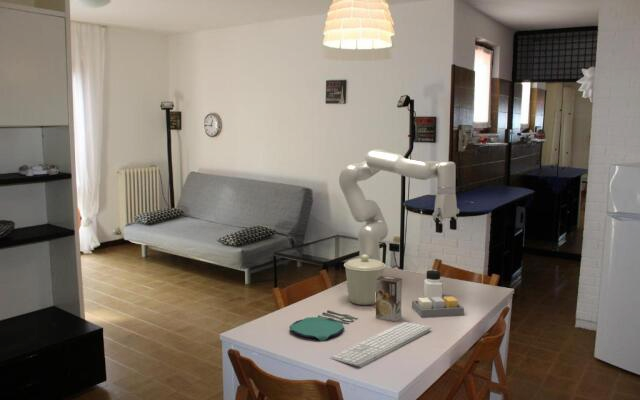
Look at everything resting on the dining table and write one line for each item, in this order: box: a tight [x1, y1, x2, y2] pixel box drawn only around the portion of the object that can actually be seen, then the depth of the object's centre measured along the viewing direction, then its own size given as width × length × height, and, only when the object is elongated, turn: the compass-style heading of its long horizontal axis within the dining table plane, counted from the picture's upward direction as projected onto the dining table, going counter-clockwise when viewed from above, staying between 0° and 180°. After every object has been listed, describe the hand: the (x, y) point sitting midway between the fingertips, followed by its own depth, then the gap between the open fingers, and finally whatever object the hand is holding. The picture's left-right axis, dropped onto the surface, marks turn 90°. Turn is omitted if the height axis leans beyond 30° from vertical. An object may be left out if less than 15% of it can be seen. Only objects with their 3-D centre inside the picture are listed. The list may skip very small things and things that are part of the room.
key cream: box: [417, 297, 432, 309], centre depth 229 cm, size 4×6×3 cm
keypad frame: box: [411, 299, 465, 318], centre depth 231 cm, size 18×12×3 cm, turn 99°
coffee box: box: [375, 275, 403, 322], centre depth 223 cm, size 9×6×16 cm
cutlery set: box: [289, 309, 359, 342], centre depth 214 cm, size 20×30×2 cm, turn 146°
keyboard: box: [329, 321, 432, 368], centre depth 197 cm, size 44×12×2 cm, turn 137°
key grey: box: [430, 297, 445, 309], centre depth 230 cm, size 4×6×3 cm
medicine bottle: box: [423, 269, 444, 300], centre depth 249 cm, size 7×7×12 cm
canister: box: [343, 254, 387, 306], centre depth 242 cm, size 18×18×21 cm
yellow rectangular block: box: [442, 296, 459, 308], centre depth 231 cm, size 4×6×3 cm
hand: (446, 231), depth 237 cm, fingers open, 9 cm apart
